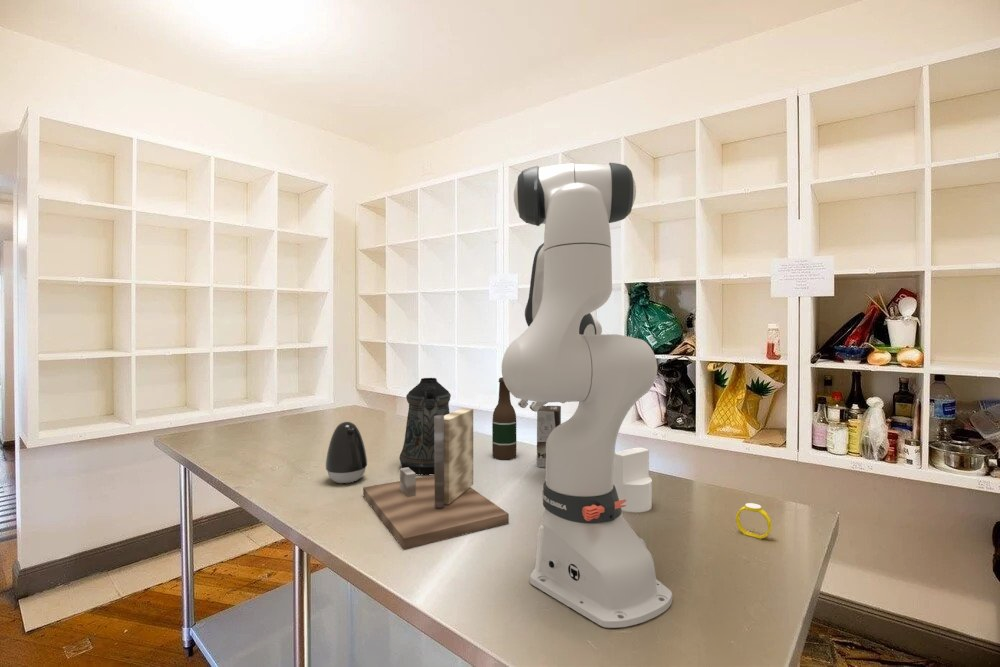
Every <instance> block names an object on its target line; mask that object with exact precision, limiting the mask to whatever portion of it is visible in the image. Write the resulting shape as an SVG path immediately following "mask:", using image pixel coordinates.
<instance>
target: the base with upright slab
mask: <svg viewBox="0 0 1000 667" xmlns="http://www.w3.org/2000/svg"><path fill="white" fill-rule="evenodd" d="M649 468H650V450H649V449H647V448H644V447H641V446H640V447H633V448H628V449H623V450H620V451H615V455H614V473H613V484H614V486H615V488H616V491H617V494H618V498H619V501H620V500H624V499H625V500H626V502H624V503H623V504H620V505H626V506H625V507H621V509H622V512H627V513H644V512H649V511H650V510H652V507H653V506H652V502H653V498H652V497H653V491H652V490H653V480H652V478H651V477H650V475H649V474H650V469H649Z"/></svg>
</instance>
